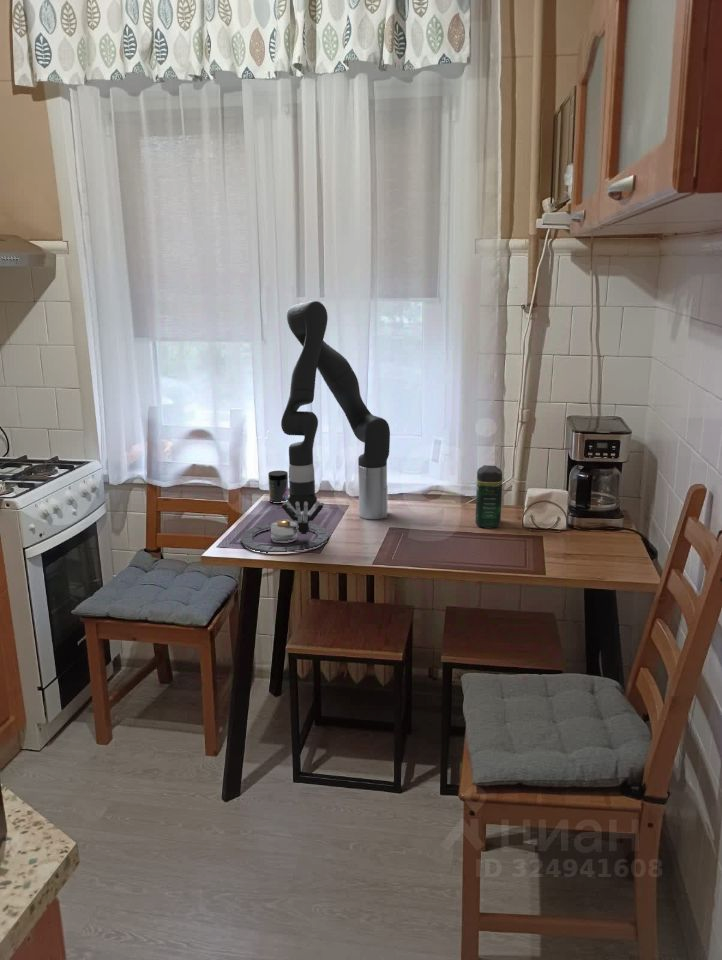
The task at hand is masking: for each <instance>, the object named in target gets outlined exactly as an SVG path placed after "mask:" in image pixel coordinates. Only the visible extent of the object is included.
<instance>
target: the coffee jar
mask: <svg viewBox="0 0 722 960" xmlns="http://www.w3.org/2000/svg"><path fill="white" fill-rule="evenodd" d="M475 496H476V497H475V524H476V526H477V527H482V528H485V529H492V528H498V527H499V526H501V517H502V501H503V500H502V498H503V497H502V496H503V472H502V469H501V468H499V467H498V466H496V465H490V464H489V465H486V464H484V465H483V466H481V467H479V468H478V469H477V471H476V495H475Z"/></svg>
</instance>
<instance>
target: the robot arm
mask: <svg viewBox="0 0 722 960" xmlns="http://www.w3.org/2000/svg"><path fill="white" fill-rule="evenodd" d="M328 317H329V316H328V312H327V309H326V307H325V305H324V304H323V303H322V302H320V301H318V300H309V301H305V302H302V303H301V302H300V303H297V304H294V305H292V306H290V307H288V309H287V311H286V322H287V326H288V327H289V329H290V331H291V333H292V334H293V336H294V337H295V338H296V340H297V341H298V342H299V343H300V345H301V346H302V349H301V352H300V354H299V356H298V357H297V358H298V359H297V361H296V362H295V365H294V367H293V370H292V374H291V379H290V391H289V392H290V393H289V397H288V401H287V403H286V406H285V409H284V412H283V414H282V418H281V422H280V426H281V430H282V432H283V434H285V435H287V436H303V437H304V438H303V440H302V441H297V442H293V443H291V444H289V446H288V459H289V460H288V461H289V465H288V489H289V495H288V496H289V498H288V501H287V502H285V503H283V504H281V508H282V510H284V512H285V513H286V514H287V515H288V516H289V518H290V519H291V521H293V522H298V523H299V529H298V533H300V535H307V533H308V532H309V523H310V522H313V521H314V520H315V518H316V517H317V516H318V514H320V512H321V511H322V509H323V508H324V506H325V504H324V503H323V502H320V501H319V500H318V497H317V496H316V485H315V484H316V483H315V482H316V481H315V479H316V478H315V467H314V453H313V452H314V443H315V437H316V434H317V430H318V426H319V420H318V417H317V415H316V414H315V413H314V412H312V411H307V410H306V411H303V410H301V411H300V410H299V408H300V407H302V406H305V405H309V404H312V403H313V402H314V398H315V388H316V377H317V370H318V372H319V373H320V375H321V377H322V378H323V381H324V382H325V384H326V386H327V387H328V389H329V391H330V392H331V394H332V395H333V397H334V399H335V401H337V404H338V405H339V407H340V408H341V410H342V411H343V413H344V414H345V417H346V419H347V422H348V423H349V426H350V428H351V430H352V432H353V434H354V436H355V437H356V439H357V440H359V441H360V442H362V443H364V448H363V449H364V451H363V453H362V454H360V455H359V456H358V459H357V460H358V461H357V462H358V463H357V465H358V467H357V469H358V471H357V472H358V515H359V517H360V518H361V519H365V520H380V519H387V518H388V512H389V511H388V509H389V507H388V500H389V499H388V469H387V468H388V459H389V456H390V443H391V442H390V441H391V430H390V425H389V422H388V421H387V420H386V419H384V418H382V417H379V416H376V415H374V414H372V413H371V411H370V410H369V409H368V408H367V406H366V404H365V403H364V401H363V399H362V396H361V390H360V385H359V384H360V383H359V379H358V377H357V375H356V373H355V372H354V370H353V367H352V366H351V364H350V363H349V361H348V360H347V359H346V358H345V356H343V355H342V354H341V353H340V352H338V351H337V350H336V349H334V348H333V347H332V346H331V345H329V344H327V342H325V340H324V339H325V335H326V330H327V327H328V326H327V325H328ZM291 507H292V508H293V509H294V510H295V511H296V512H295V511H294V510H293V509H292V508H291ZM313 507H314V508H315V510H314V511H313V512H312V513H311V515H310V511H311V509H312V508H313Z"/></svg>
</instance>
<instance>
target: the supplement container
mask: <svg viewBox="0 0 722 960" xmlns="http://www.w3.org/2000/svg"><path fill="white" fill-rule="evenodd" d="M267 474H268V475H267V476H268V492H269V493H268V494H269V501H272V502H281V501H286V500H288V498H289V496H290V495H289V471H285V470H272V471H268V473H267Z"/></svg>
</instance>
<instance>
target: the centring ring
mask: <svg viewBox="0 0 722 960" xmlns="http://www.w3.org/2000/svg"><path fill="white" fill-rule="evenodd" d="M294 522H295V523H297V526H299V523H298V521H294ZM272 523H273V522H269V523H268V522H267V523H264V524H261V525H257V526H253V527H251V528H250V529H248V530H246V531H244V532H243V534H242V535H241V537H240V542H241V541H242V542H241V544H242V543H243V544H242V546H243V545H244V546H246V547H248V548H250V549H252V550H255V551H260V552H266V553H268V552H287V551H295V550H304V549H309V548H313V547H317V546H319V545H321V544H322V543H325V542H328V541H327V539H328V540H329V538H330V533H329V532H328V530H327V529H326V528H325V527H323V526H321V525H318V524H316V523H310V522H309V529H311V530H314V531H316V532H317V534H318V536H317V537H316V538H315V539H313V540H312V541H310V542H307V543H304V544H300V545H294V546H293V545H292V546H284V547H283V546H269V545H264V544H263V545H262V544H260V543H257V542H255V541H254V540H253V539H252V537H253V535H254V534H256V533H257V532H259V531H261V530H264V529H268V528H271V524H272ZM328 537H329V538H328ZM253 538H254V537H253ZM244 546H243V547H244Z"/></svg>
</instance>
